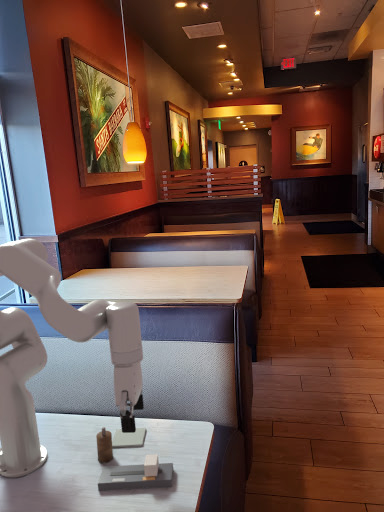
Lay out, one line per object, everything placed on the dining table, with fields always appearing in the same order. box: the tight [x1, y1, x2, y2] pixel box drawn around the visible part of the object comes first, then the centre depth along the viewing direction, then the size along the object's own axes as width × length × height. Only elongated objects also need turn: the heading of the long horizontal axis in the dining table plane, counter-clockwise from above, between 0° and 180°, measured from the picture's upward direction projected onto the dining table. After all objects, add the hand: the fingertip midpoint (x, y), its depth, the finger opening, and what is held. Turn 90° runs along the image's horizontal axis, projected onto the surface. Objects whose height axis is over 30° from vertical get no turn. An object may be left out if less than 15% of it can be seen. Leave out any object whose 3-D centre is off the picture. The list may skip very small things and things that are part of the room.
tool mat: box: [112, 427, 147, 449], centre depth 119 cm, size 9×8×1 cm
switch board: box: [97, 462, 174, 492], centre depth 101 cm, size 18×6×2 cm, turn 89°
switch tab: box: [144, 453, 160, 477], centre depth 101 cm, size 3×4×3 cm
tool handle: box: [96, 427, 114, 464], centre depth 110 cm, size 4×4×9 cm
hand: (133, 420), depth 99 cm, fingers open, 9 cm apart
